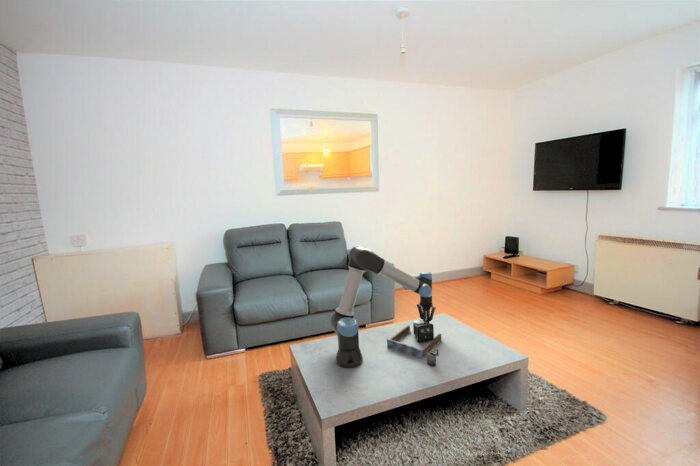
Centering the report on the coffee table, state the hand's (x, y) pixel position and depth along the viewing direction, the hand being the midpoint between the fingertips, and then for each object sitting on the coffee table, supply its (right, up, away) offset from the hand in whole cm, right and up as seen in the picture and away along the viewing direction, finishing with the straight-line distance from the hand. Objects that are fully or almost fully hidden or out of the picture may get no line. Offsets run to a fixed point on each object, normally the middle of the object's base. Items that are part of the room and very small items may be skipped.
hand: (426, 329), depth 207 cm
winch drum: (-6, -8, -35) cm, 36 cm away
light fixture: (-5, -4, -5) cm, 8 cm away
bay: (-10, -5, -12) cm, 17 cm away
